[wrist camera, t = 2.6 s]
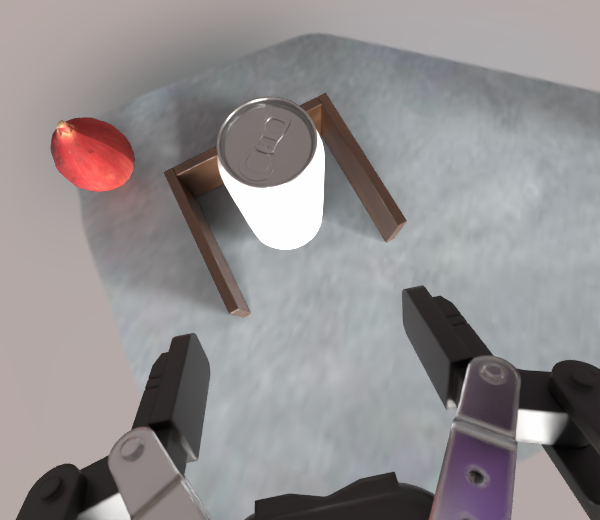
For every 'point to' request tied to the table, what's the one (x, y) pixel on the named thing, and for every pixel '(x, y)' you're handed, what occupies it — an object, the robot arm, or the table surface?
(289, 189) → the can
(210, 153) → the frame
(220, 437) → the table surface
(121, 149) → the onion
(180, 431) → the robot arm
